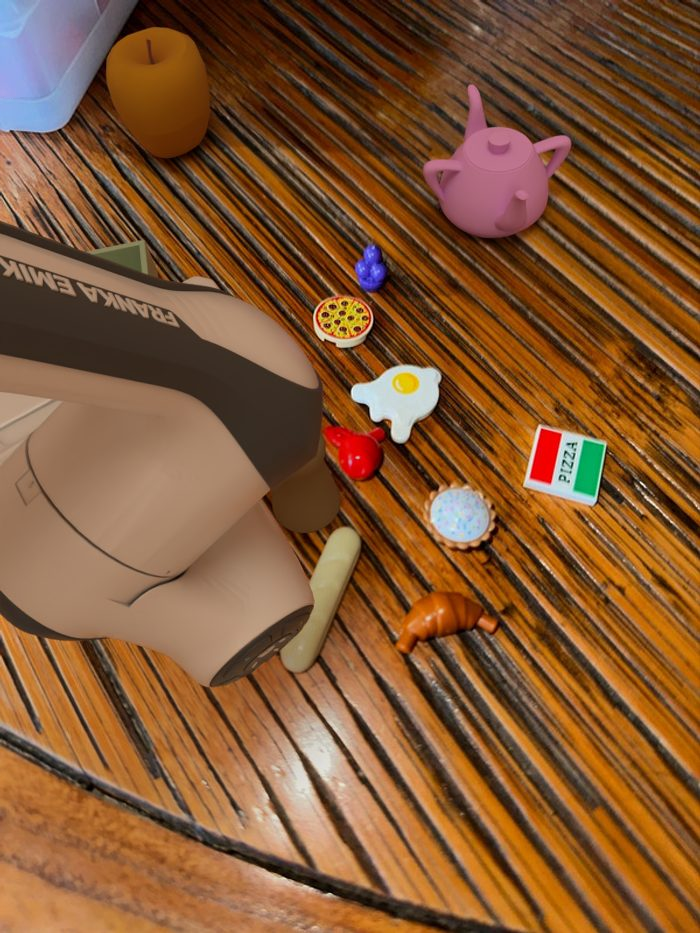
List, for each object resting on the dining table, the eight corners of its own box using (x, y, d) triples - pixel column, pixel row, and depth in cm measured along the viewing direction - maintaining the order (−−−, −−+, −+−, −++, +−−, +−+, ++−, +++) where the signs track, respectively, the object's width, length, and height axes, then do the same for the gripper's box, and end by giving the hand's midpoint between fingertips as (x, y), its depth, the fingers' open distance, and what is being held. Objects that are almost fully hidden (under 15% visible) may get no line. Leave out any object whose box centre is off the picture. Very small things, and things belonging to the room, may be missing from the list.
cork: (307, 546, 64) (289, 487, 55) (257, 504, 67) (232, 440, 57) (355, 498, 66) (345, 432, 57) (305, 458, 69) (288, 389, 59)
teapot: (515, 266, 78) (526, 198, 70) (404, 213, 83) (403, 144, 75) (574, 197, 82) (591, 126, 74) (465, 150, 87) (470, 78, 79)
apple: (187, 188, 87) (154, 85, 76) (114, 161, 90) (71, 57, 79) (240, 130, 91) (216, 24, 80) (168, 106, 94) (136, 0, 83)
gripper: (273, 336, 47) (173, 211, 53) (-35, 508, 43) (-106, 351, 49) (288, 393, 53) (195, 274, 59) (15, 551, 48) (-54, 405, 55)
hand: (56, 310), depth 54 cm, fingers closed on supplement box, 4 cm apart
